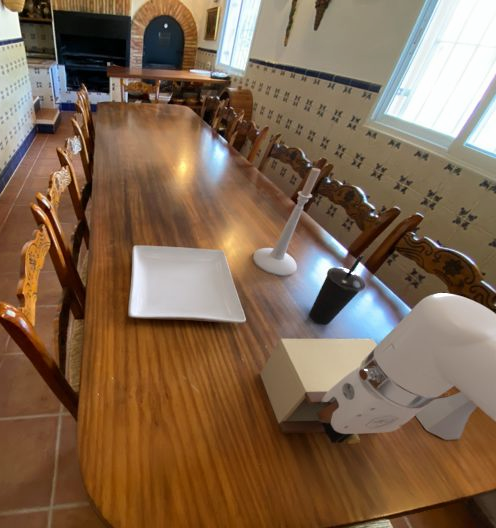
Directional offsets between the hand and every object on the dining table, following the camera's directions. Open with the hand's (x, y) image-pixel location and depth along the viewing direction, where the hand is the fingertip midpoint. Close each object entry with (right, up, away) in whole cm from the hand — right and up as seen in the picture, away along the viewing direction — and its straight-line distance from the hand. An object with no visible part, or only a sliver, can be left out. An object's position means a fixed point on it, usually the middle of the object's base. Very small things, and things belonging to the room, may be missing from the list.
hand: (331, 433), depth 50 cm
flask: (+24, -2, +7) cm, 25 cm away
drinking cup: (+13, +15, +25) cm, 32 cm away
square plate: (-22, +22, +30) cm, 43 cm away
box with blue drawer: (+2, +2, +8) cm, 8 cm away
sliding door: (+5, -1, +2) cm, 6 cm away
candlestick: (+9, +29, +42) cm, 51 cm away
